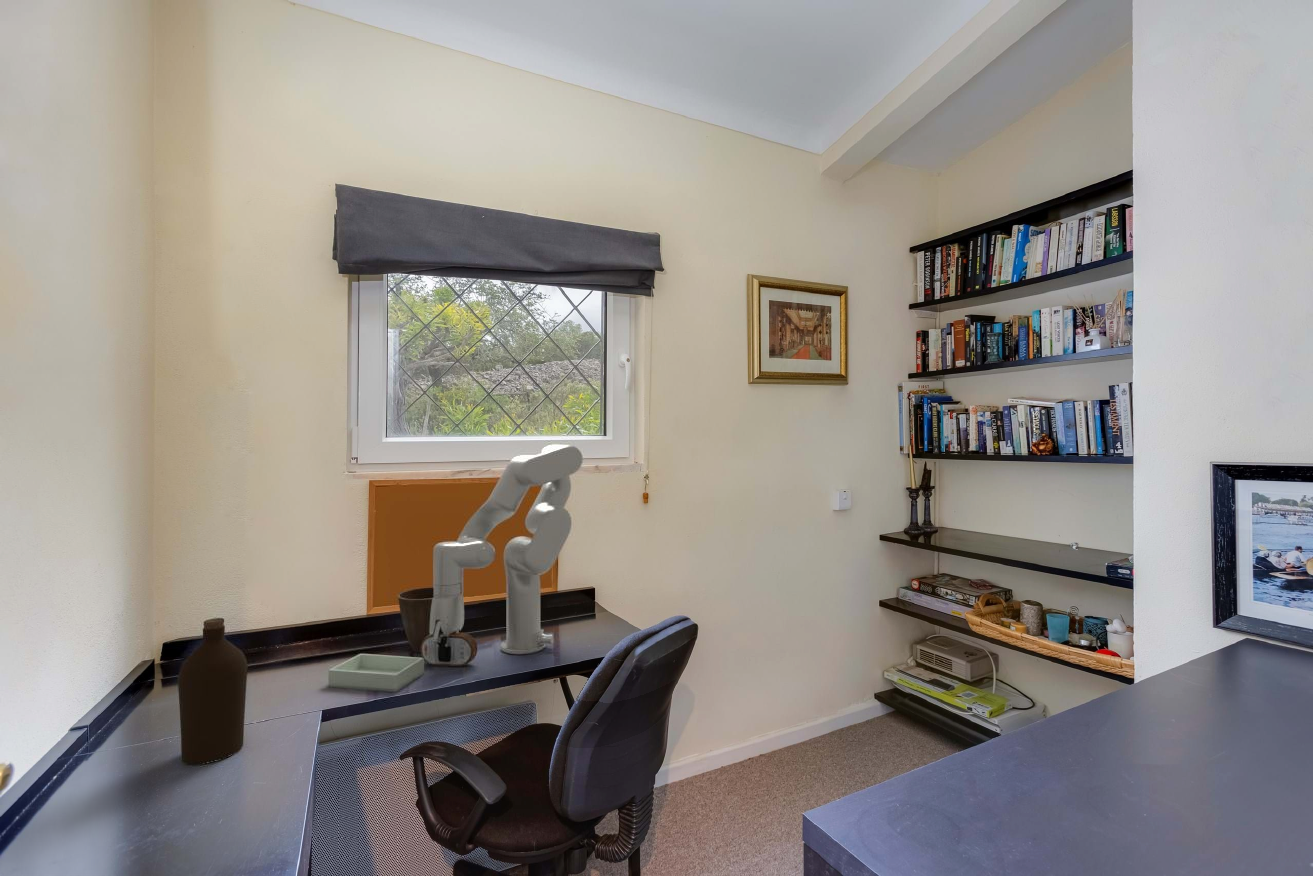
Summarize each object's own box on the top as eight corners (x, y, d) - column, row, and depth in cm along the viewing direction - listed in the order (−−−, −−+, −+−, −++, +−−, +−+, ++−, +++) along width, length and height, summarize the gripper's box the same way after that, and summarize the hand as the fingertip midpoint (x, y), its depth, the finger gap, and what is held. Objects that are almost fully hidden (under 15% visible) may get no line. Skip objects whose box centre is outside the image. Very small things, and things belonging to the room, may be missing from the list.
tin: (477, 664, 159) (478, 632, 159) (472, 668, 156) (473, 635, 156) (424, 662, 161) (424, 630, 161) (417, 666, 158) (418, 633, 158)
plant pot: (385, 653, 167) (385, 596, 167) (425, 638, 181) (425, 584, 181) (427, 661, 161) (427, 601, 162) (464, 644, 175) (464, 589, 175)
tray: (423, 673, 152) (423, 658, 152) (395, 692, 141) (395, 675, 141) (360, 669, 156) (360, 653, 156) (328, 686, 144) (328, 670, 144)
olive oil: (204, 771, 107) (205, 631, 107) (163, 762, 110) (164, 625, 110) (260, 743, 117) (261, 614, 117) (220, 735, 120) (221, 610, 121)
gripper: (451, 581, 167) (451, 648, 167) (417, 596, 151) (417, 669, 151) (476, 582, 166) (476, 649, 166) (444, 597, 150) (444, 671, 150)
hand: (448, 658), depth 158 cm, fingers closed on tin, 2 cm apart
